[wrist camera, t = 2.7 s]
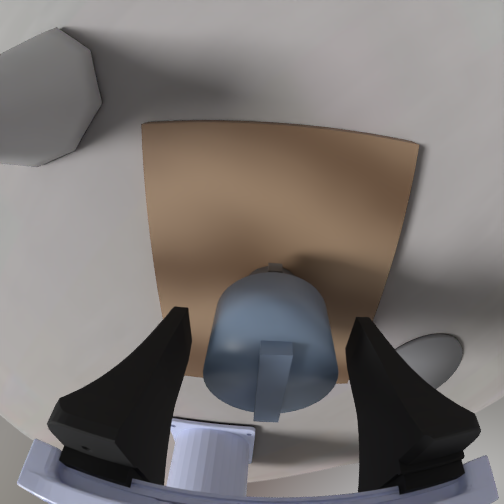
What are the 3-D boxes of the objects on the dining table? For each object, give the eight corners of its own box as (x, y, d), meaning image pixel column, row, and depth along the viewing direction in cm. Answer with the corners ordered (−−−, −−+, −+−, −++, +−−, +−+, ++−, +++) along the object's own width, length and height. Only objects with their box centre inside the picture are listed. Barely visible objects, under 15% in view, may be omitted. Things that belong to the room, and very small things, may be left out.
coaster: (434, 394, 22) (436, 397, 22) (355, 402, 22) (356, 406, 22) (476, 330, 18) (478, 334, 18) (388, 335, 18) (390, 340, 18)
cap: (316, 356, 15) (324, 425, 11) (217, 351, 15) (205, 420, 11) (336, 275, 12) (357, 349, 9) (214, 268, 12) (194, 342, 9)
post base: (345, 374, 20) (351, 408, 18) (176, 365, 20) (167, 399, 18) (411, 141, 12) (443, 156, 10) (148, 122, 12) (119, 132, 10)
